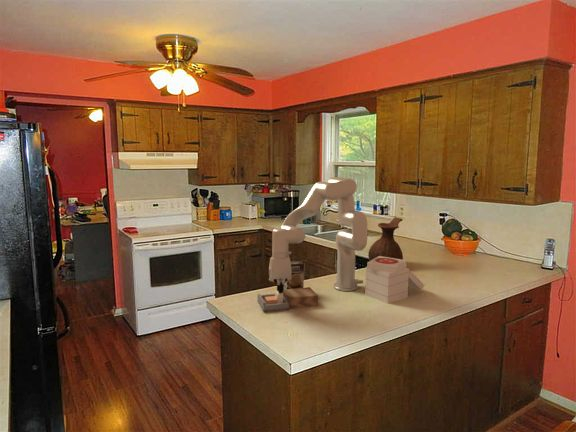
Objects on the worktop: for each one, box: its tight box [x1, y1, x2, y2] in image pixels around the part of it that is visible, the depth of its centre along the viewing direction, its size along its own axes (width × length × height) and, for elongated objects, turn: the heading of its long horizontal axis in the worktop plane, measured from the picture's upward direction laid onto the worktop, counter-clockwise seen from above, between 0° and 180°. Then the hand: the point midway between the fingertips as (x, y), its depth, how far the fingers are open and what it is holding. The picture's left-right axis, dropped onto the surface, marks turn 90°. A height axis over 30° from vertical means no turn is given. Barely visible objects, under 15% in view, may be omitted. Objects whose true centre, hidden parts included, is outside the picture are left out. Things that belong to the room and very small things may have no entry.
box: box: [257, 293, 290, 313], centre depth 194 cm, size 12×14×4 cm
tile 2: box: [274, 290, 283, 304], centre depth 195 cm, size 5×5×3 cm
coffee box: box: [284, 260, 305, 290], centre depth 211 cm, size 9×6×16 cm
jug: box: [368, 216, 404, 261], centre depth 258 cm, size 22×22×30 cm
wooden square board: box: [282, 286, 319, 309], centre depth 198 cm, size 14×12×5 cm
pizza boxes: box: [364, 256, 425, 304], centre depth 209 cm, size 19×30×18 cm, turn 125°
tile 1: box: [265, 296, 277, 305], centre depth 194 cm, size 5×5×3 cm
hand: (280, 292), depth 195 cm, fingers closed
